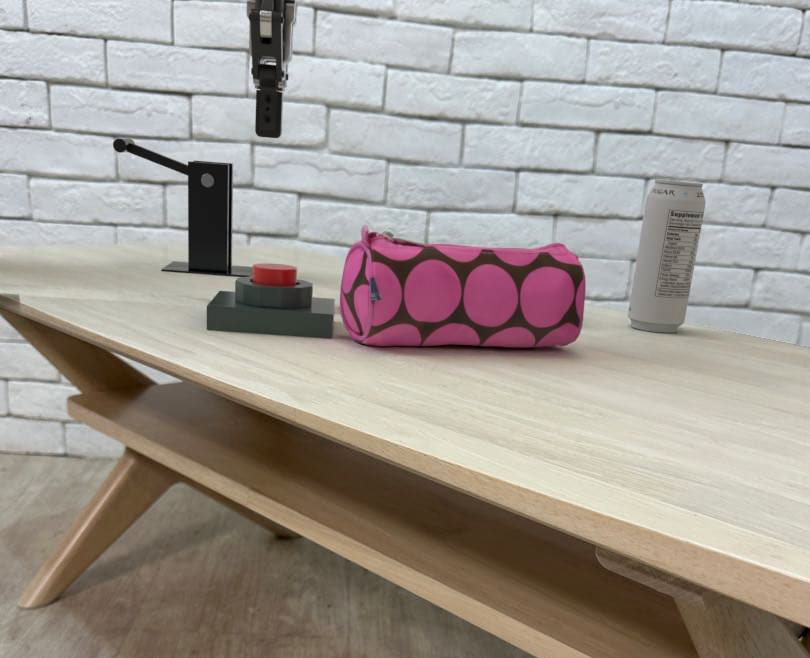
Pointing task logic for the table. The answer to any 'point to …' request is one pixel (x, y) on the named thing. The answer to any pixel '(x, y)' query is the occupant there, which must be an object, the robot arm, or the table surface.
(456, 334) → the pencil case
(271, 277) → the button
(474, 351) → the table surface
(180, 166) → the switch lever
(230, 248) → the switch bracket
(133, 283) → the table surface
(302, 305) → the control box
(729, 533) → the table surface
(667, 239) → the energy drink can
